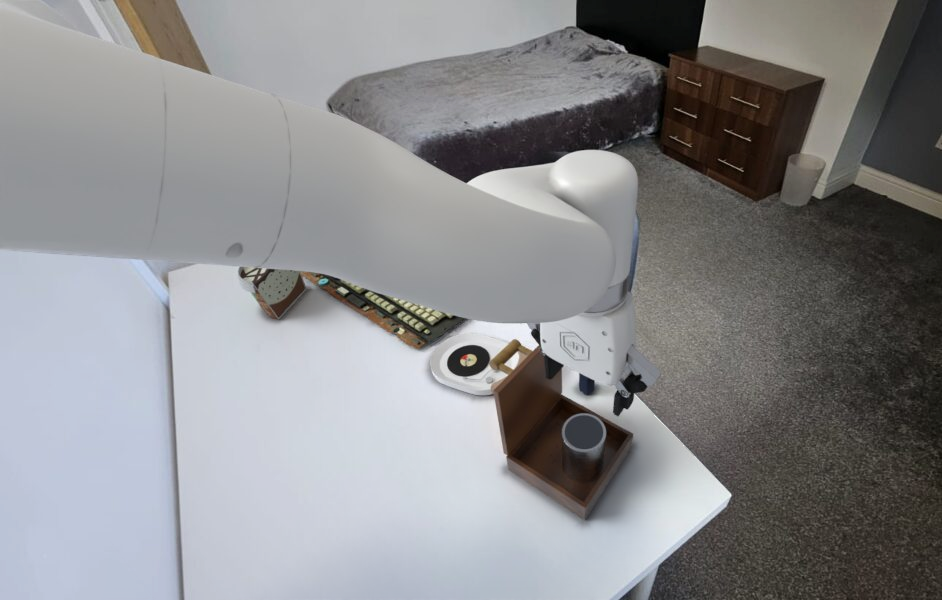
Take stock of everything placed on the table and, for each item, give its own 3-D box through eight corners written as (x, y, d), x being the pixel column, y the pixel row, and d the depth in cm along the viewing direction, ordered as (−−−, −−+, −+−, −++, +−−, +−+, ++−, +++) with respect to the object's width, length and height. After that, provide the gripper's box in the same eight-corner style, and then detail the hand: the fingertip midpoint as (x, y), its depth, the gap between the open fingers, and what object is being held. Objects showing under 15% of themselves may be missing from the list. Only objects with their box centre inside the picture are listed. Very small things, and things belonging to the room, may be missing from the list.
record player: (521, 400, 73) (414, 364, 79) (522, 412, 75) (418, 377, 81) (551, 349, 82) (453, 320, 87) (552, 361, 84) (455, 332, 89)
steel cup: (589, 490, 65) (591, 459, 60) (554, 468, 68) (552, 436, 62) (610, 457, 69) (614, 426, 64) (577, 437, 71) (577, 405, 66)
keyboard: (478, 312, 93) (476, 302, 91) (419, 356, 84) (415, 346, 82) (344, 235, 112) (341, 226, 111) (284, 264, 103) (280, 255, 102)
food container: (283, 281, 99) (263, 242, 92) (311, 284, 98) (292, 245, 92) (243, 321, 90) (218, 280, 83) (273, 325, 89) (250, 284, 82)
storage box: (631, 447, 71) (633, 433, 69) (584, 520, 63) (585, 508, 60) (560, 407, 76) (560, 393, 74) (508, 469, 68) (506, 456, 66)
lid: (561, 329, 64) (530, 314, 67) (498, 393, 56) (464, 373, 58) (562, 392, 74) (534, 377, 76) (507, 456, 65) (478, 437, 67)
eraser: (587, 397, 78) (588, 369, 74) (577, 389, 79) (578, 362, 75) (595, 389, 79) (597, 362, 75) (585, 382, 80) (587, 355, 76)
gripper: (497, 269, 47) (512, 378, 58) (652, 338, 40) (635, 446, 52) (542, 235, 52) (548, 341, 63) (687, 291, 45) (664, 399, 56)
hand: (587, 388), depth 57 cm, fingers open, 9 cm apart
